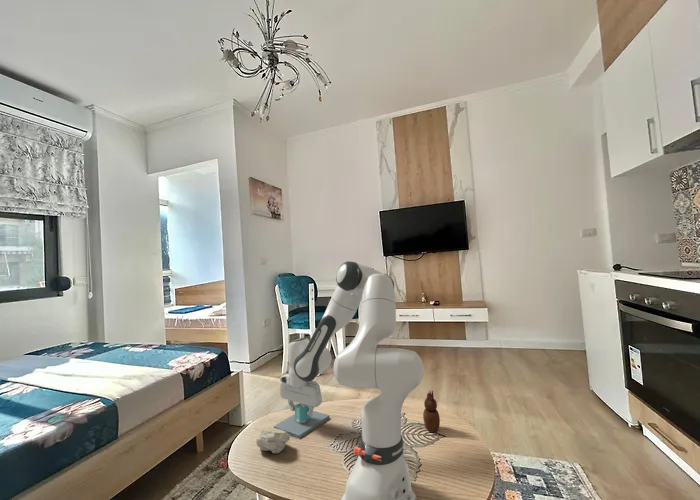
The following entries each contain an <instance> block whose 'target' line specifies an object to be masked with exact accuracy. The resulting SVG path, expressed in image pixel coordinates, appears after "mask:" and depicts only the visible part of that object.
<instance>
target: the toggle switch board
mask: <svg viewBox="0 0 700 500" xmlns="http://www.w3.org/2000/svg"><path fill="white" fill-rule="evenodd" d="M329 419H330V415H328V414H326V413H322V412H319V411H316V410H313V415H312V416H311V418H310V419H307V420H304V421H301V422H299V421H298V420H297V419H296V418H295V413H294V414H293V415H291V416H289V417H287V418H285V419H284V420H281V422H278V423H277V424H275V425H273V428H276V429H280V430H283V431H286V432H287V434H289V435H290V437H293V438H295V439H298V440H300V439H301V438H303V437H304V436H306V435H307V434H309V433H310V432H311V431H313V430H314V429H316V428H317V427H319V426H321V425H322V424H324V423H325V422H326V421H328V420H329Z"/></svg>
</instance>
